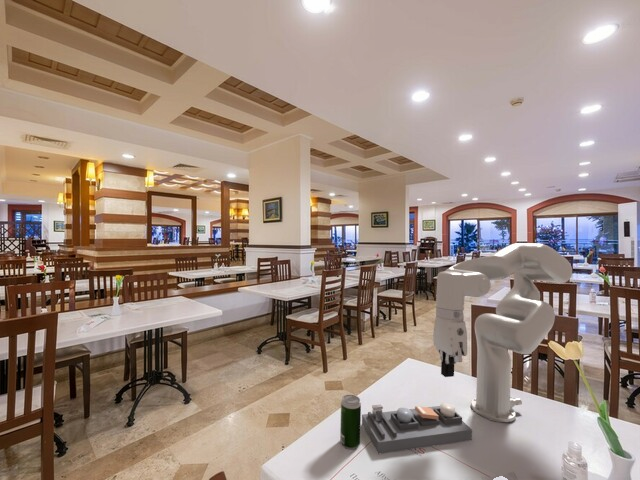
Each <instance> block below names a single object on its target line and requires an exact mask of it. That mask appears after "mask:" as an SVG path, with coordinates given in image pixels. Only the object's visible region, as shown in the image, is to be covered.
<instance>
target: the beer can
mask: <svg viewBox="0 0 640 480" xmlns="http://www.w3.org/2000/svg"><path fill="white" fill-rule="evenodd" d="M361 409H362V402H361V399H360V397H359V396H357V395H356V394H355V395H354V394H345V395H343V396H342V398H341V402H340V428H339V430H340V434H339V435H340V437H339V438H340V439H339V441H340V444H341V446H342V448H344V449H346V450H350V451H353V450H356V449H357V448H359V446H360V444H361V425H362V410H361Z"/></svg>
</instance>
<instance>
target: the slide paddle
mask: <svg viewBox="0 0 640 480" xmlns="http://www.w3.org/2000/svg"><path fill="white" fill-rule="evenodd" d="M371 408H372V412H371V413H372V415H373V417H374V418H375V420H376V421H382V412H383V409H384V406H383V405H382V404H375V405H371Z"/></svg>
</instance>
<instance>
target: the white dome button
mask: <svg viewBox="0 0 640 480" xmlns="http://www.w3.org/2000/svg"><path fill="white" fill-rule="evenodd" d="M439 406H440V413H441V414H442V415H443V416H445V417H449V418H453V417H454V416H455V412H456V407H455V406H454V405H453V404H450V403H448V402H442V403H440V405H439Z"/></svg>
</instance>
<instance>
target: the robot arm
mask: <svg viewBox="0 0 640 480" xmlns="http://www.w3.org/2000/svg"><path fill="white" fill-rule="evenodd" d="M511 275H513V286H512V288H511V289H510V290H509V291H508V292H507V293H506V294H505V296H504V297H502V299H500V301H499V302H498V304H497V305H496V307H495V313H496V314H495V313H490V312H489V313H487V312H486V313H482V314H480V315H478V316H477V317H476V318H475V321H474V334H475V339H476V346H477V347H476V348H477V349H476V350H477V357H476V358H477V360H476V395H475V397H474V398H472V399H471V401H470V407H471V408H472V410H473V411H474V412H475V413H476V414H478V415H479V416H482V417H483V418H485V419H487V420H490V421H494V422H499V423H511V422H513V421H515V419H516V416H517V415H516V414H517V413H516V412H515V410H514V409H513V407H515V406H522V404H523V401H522V399H521V398H519V397H517V398H512V396H511V383H512V382H511V380H512V376H511V375H512V373H511V372H512V360H511V356H510V353H509V351H512V352H514V353H517V354H521V355H529V354H531V353H533V352H534V351H535V350H536V349H537V348H538V346H539V345H540V344H541V343H542V342H543V340H544V339H545V338H546V336H548V334H549V332H550V331H551V330H552V328H553V326H554V323H555V319H556V313H555V309H554V308H553V306H552V305H551V304H549V303H548V302H546V301H543V300H540V299H541V293H540V291H539V289H538V287H537V286H536V285H535V284H534V281H537V282H546V283H553V284H565V283H567V282H568V281H569V280H570V279H571V278H572V276H573V268H572V265H571V263H570V262H569V260H568V259H567V258H566V257H564V256H563V255H562V254H561V253H560V252H558V251H557V250H555V249H554V248H552V247H551V246H549V245H546V244H544V243H525V242H524V243H521V242H519V243H517V242H516V243H512V244H509V245H507V246H505V247H503V248H501V249H499V250H497V251H495V252H493V253H491V254H489V255H486V256H480V257H476V258H472V259H468V260H464V261H461V262H458V263H456V264H453V265H451V266H450V267H448V268H447V269H445V270H444V271H440V272H438V273H437V277H436V301H435V302H436V305H435V306H436V307H435V318H434V325H433V334H432V335H433V337H432V341H433V345H434V347H435V349H436V350H437V352H438V353H439V359H440V361H441V362H440V363H441V365H440V366H441V368H440V374H441V376H443V377H444V378H451V377H455V364H456V363H462V362H463V357H467V355H468V331H467V326H466V321H465V320H464V319H465V318H464V317H465V316H464V315H465V297H472V298H480V297H481V298H482V297H484V296H486V295H487V294H488V293H489V292H490V289H491V281H498V280H505V279H506V278H508V277H509V276H511ZM508 350H509V351H508Z"/></svg>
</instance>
